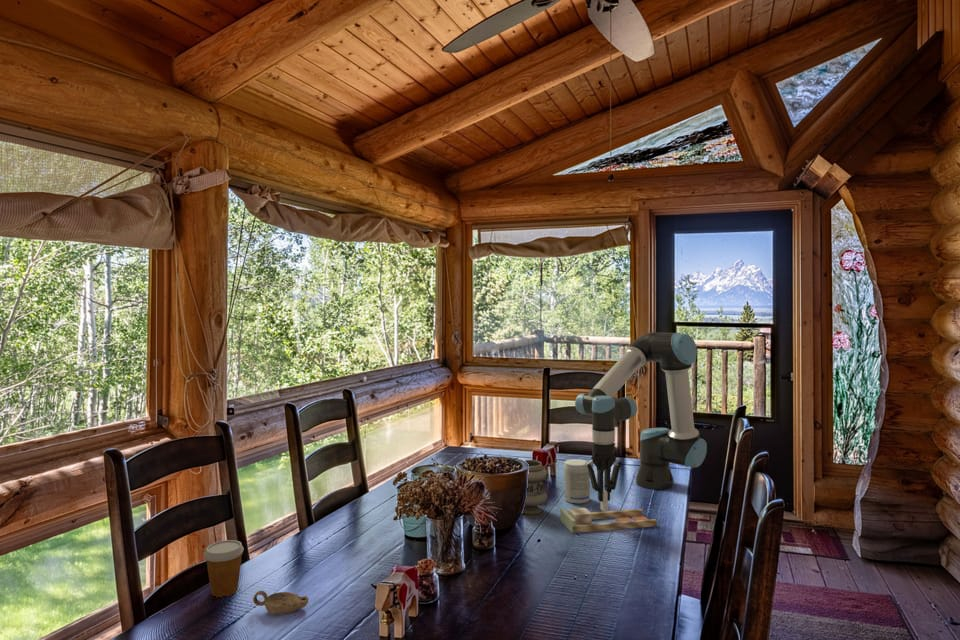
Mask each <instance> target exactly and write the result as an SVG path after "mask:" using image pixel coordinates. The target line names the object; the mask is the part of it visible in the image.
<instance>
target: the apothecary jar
mask: <svg viewBox="0 0 960 640" xmlns="http://www.w3.org/2000/svg"><path fill="white" fill-rule="evenodd" d="M524 460H525V461H526V462H527V463H528V464H529V468H530V470H529V474H528V488H527V497H526V501H525V507H524V510H523V513H522V515H521V516H525V517H529V518H530V517H531V518H532V517H533V518H534V517H540V516H542V515H544V514H545V510H544V509H543V508H541V507H539V506H541V505H543V504H545V503H546V502H547V500H548V494H547V492H546V491H545V489H544V480H545V479H546V478H547V471H546V469H545V468H544V467H543V462H541V461H539V460H537V459H524Z"/></svg>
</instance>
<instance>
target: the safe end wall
mask: <svg viewBox="0 0 960 640" xmlns="http://www.w3.org/2000/svg"><path fill="white" fill-rule="evenodd" d="M559 511H560V519H559V521H560V522H561V523H562V524H563V525H564V526H565V527H566V528H567V529H568V530H569V532H571V534H574V533H575V532H574V533H572V531H573V530H574V531H575V528H574V529H573V527H575V520H574V519H573V518H572V517H571V516H570V515H569V514H568V511H566V510H565V508H560V510H559Z"/></svg>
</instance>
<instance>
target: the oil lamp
mask: <svg viewBox="0 0 960 640" xmlns="http://www.w3.org/2000/svg"><path fill="white" fill-rule="evenodd" d="M258 596H262V597H263V599H264V600H263V601H261V600H258ZM252 602H253V603H254V605H256V606H257V607H258V606H259V607H263V606H264V607H265V610H267V612H268V613H269V614H272V615H278V616H279V615H285V614H286V615H287V614H289V613H293V612H295V611H300V610H301V609H303V608H305V607H306V606H307V605H308V604H309V597H308V596H307V595H304V596H300V595H299V594H298V593H293V592H289V591H282V592H281V591H279V592H275V593H273V594H269V595H268V594H267V592H266V591H264V590H259V591H256V592H255V594H254V595H253V598H252Z"/></svg>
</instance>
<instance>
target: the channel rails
mask: <svg viewBox="0 0 960 640" xmlns="http://www.w3.org/2000/svg"><path fill="white" fill-rule="evenodd" d="M590 513H591V514H592V520H603V519H615V518H614V517H625V516H627V517H629V518H631V517H630V516H638V515H643V516H644V510H643V509H642V508H637V509H623V510H622V509H621V510H608V511H606V512H603V511H595V512H590ZM657 526H658V520H657V519H656V518H651V519H649V520H636V521H635V520H632V521H623V522H618V521H614V522H613V521H612V522H601V523H592V524H584V525H575V527H573V529H574V528H575V531H574V530H573V531H572V533H571V534H574V532H575V533H577V534H578V533H587V532H590V533H591V532H600V531H611V530H612V531H613V530H624V529H637V528H648V527H649V528H651V527H657Z"/></svg>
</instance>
